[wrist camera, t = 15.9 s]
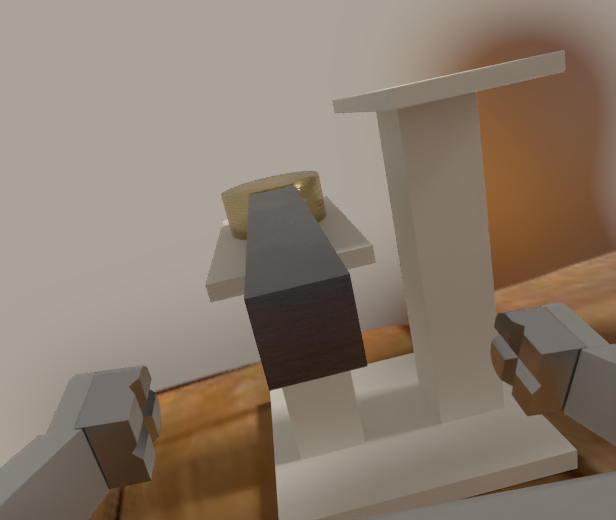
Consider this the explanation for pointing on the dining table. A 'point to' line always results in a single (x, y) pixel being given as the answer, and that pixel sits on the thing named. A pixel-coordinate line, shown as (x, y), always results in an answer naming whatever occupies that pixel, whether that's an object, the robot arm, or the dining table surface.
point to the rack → (413, 330)
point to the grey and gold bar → (294, 280)
